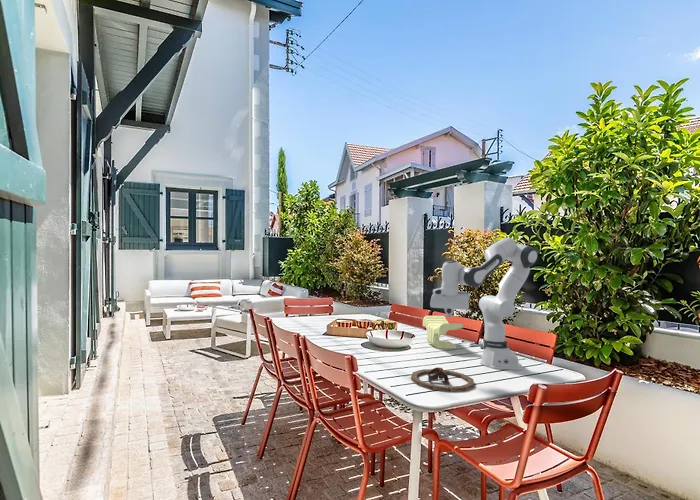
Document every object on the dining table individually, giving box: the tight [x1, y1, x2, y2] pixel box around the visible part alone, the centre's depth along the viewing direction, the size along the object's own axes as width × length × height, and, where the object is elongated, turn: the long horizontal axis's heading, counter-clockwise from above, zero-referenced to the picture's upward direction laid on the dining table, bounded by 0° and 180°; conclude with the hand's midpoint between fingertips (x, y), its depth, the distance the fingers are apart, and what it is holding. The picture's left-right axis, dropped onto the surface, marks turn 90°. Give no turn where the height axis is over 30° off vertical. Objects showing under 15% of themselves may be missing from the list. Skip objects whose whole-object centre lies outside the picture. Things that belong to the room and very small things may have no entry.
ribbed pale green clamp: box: [422, 315, 464, 349], centre depth 280 cm, size 30×16×18 cm, turn 10°
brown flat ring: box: [410, 368, 475, 393], centre depth 203 cm, size 30×30×2 cm
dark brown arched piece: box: [427, 367, 450, 385], centre depth 202 cm, size 12×10×8 cm
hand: (449, 316), depth 222 cm, fingers closed
